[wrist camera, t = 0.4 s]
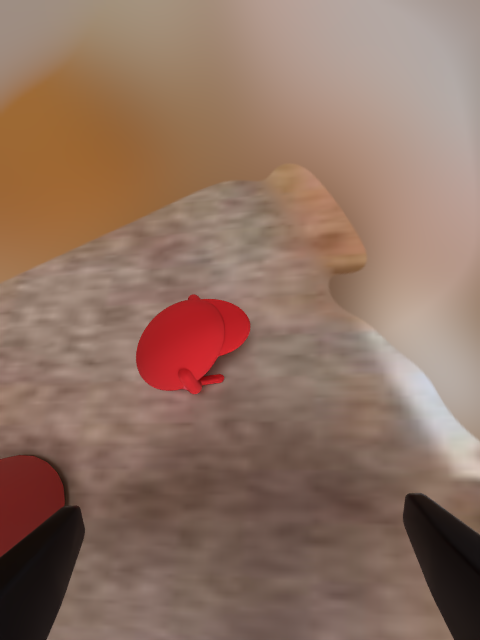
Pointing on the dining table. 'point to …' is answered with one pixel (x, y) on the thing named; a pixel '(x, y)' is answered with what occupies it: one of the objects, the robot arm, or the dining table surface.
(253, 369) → the dining table surface
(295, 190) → the dining table surface
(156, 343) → the cap
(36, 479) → the beer can
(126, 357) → the dining table surface
